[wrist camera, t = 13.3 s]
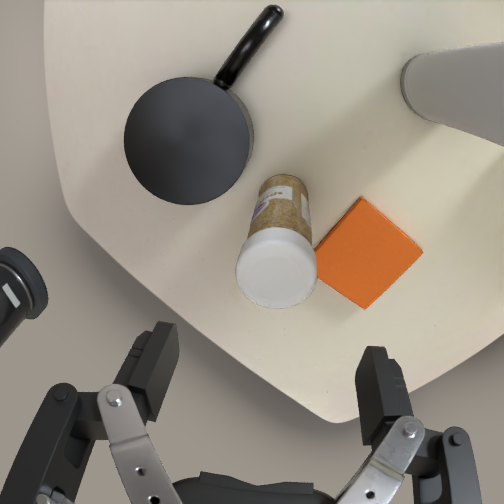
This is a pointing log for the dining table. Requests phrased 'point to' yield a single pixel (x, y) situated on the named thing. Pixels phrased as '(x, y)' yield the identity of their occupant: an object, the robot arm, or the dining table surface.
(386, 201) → the dining table surface
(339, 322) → the dining table surface
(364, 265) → the orange square coaster
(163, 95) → the pan
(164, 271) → the dining table surface
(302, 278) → the sprinkles bottle
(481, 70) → the travel mug
